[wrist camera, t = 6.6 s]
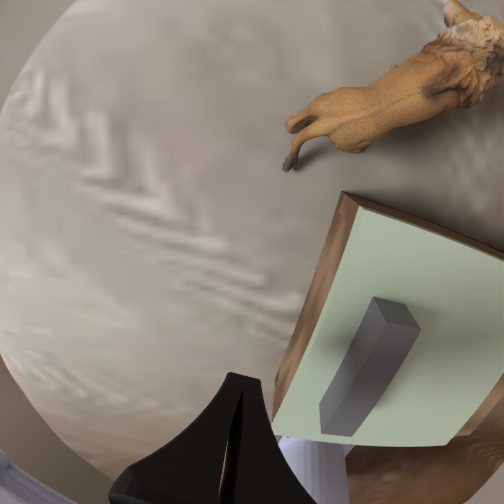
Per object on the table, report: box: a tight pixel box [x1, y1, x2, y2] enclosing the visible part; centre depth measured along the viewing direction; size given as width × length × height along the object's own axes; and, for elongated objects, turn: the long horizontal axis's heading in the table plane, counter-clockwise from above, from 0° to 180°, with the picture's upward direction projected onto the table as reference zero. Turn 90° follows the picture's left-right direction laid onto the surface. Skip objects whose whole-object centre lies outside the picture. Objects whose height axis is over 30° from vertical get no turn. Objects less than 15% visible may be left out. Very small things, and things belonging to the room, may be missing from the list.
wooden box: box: [272, 191, 504, 436], centre depth 18 cm, size 23×20×5 cm
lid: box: [271, 206, 504, 447], centre depth 15 cm, size 16×16×4 cm
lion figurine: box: [282, 0, 504, 172], centre depth 13 cm, size 15×5×9 cm, turn 130°
